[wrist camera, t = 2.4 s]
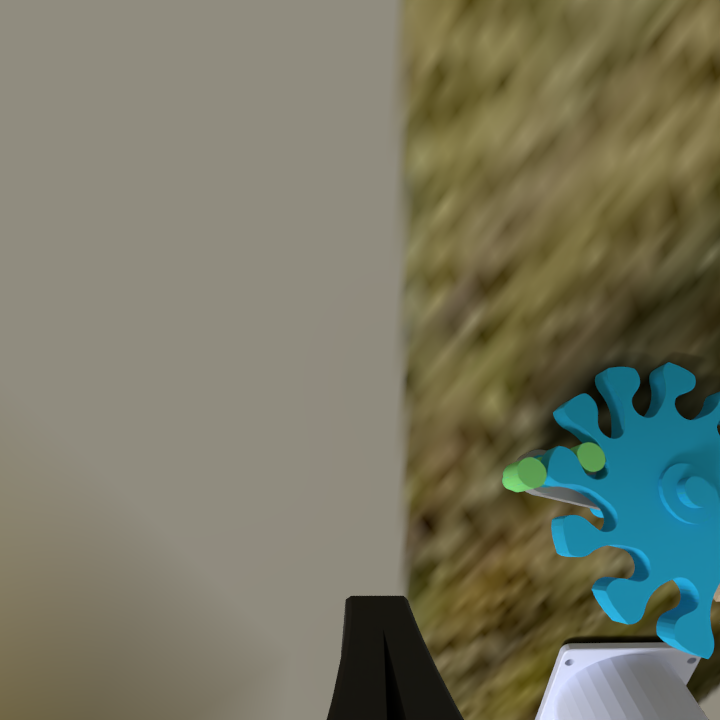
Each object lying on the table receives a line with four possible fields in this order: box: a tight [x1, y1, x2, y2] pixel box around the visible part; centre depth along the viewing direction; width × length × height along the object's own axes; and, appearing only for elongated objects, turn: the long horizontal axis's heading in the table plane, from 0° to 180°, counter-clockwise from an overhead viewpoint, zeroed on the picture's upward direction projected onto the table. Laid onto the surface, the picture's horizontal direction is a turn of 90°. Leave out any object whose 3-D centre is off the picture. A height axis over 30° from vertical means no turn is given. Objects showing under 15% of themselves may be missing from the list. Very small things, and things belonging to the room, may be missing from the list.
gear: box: [502, 362, 720, 659], centre depth 19 cm, size 11×6×10 cm
